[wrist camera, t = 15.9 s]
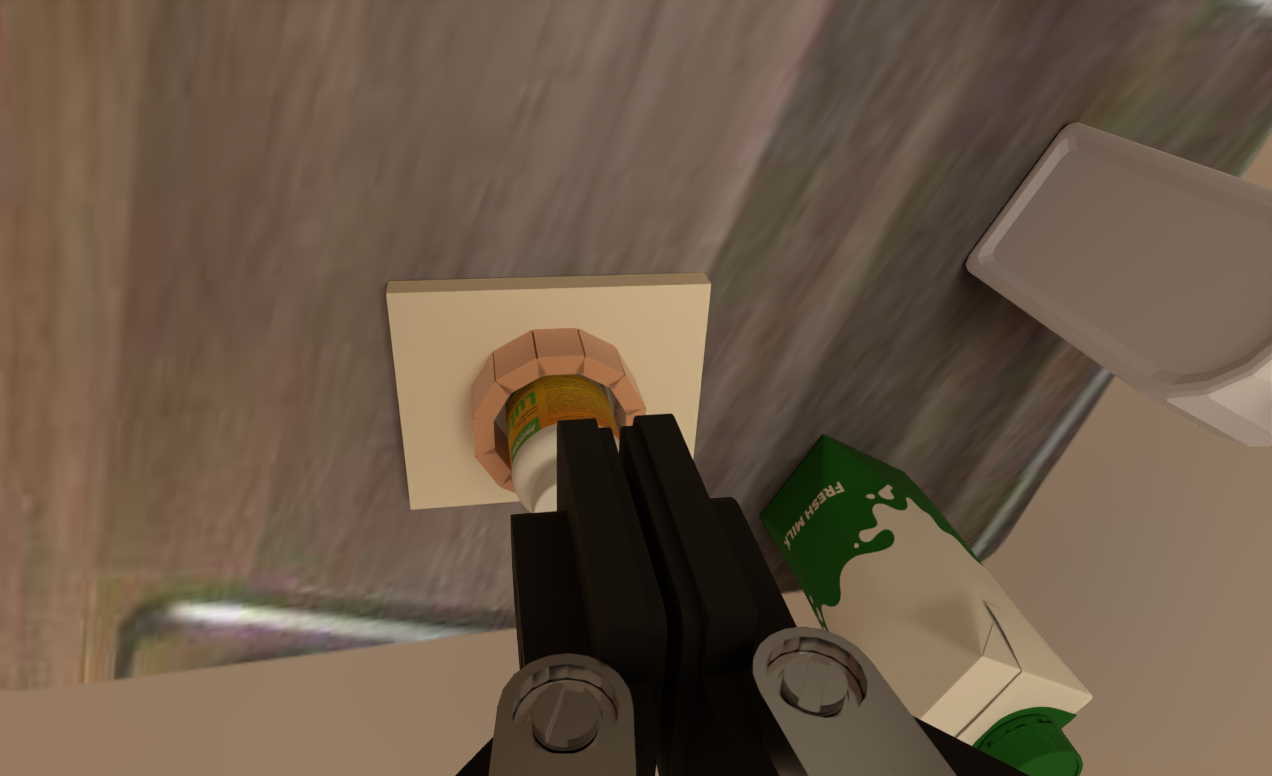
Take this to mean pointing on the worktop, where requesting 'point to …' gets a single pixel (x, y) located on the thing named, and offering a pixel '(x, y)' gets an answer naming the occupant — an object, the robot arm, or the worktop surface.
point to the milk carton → (923, 609)
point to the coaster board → (506, 309)
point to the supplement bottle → (548, 431)
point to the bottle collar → (527, 364)
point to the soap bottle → (1146, 273)
